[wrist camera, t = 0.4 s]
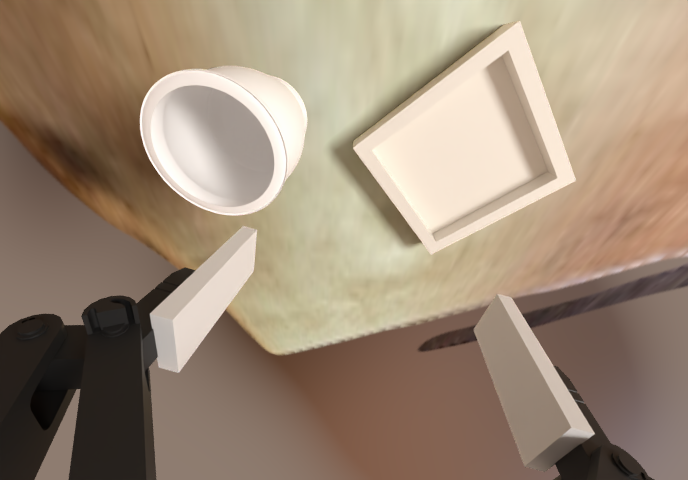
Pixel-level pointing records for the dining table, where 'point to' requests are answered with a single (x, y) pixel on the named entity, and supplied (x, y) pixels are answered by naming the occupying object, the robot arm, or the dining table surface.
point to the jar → (224, 136)
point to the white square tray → (469, 143)
